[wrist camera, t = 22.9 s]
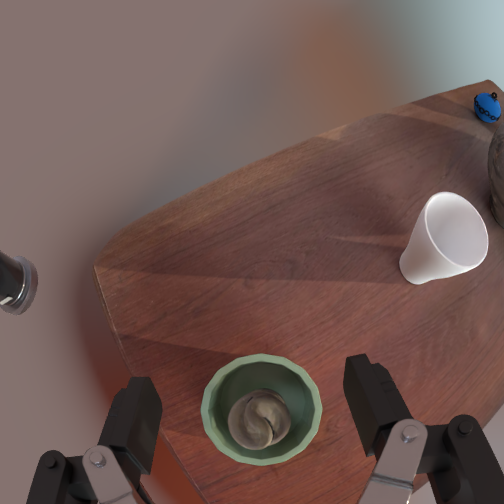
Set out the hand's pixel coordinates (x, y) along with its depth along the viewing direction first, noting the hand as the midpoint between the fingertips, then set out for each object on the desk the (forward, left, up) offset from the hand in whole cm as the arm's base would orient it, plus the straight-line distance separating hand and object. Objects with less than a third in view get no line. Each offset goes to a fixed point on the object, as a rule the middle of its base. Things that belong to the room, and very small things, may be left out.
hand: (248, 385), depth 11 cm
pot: (+2, -3, -29) cm, 29 cm away
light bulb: (+2, -3, -28) cm, 29 cm away
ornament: (+20, +81, -29) cm, 88 cm away
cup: (+12, +26, -29) cm, 41 cm away
